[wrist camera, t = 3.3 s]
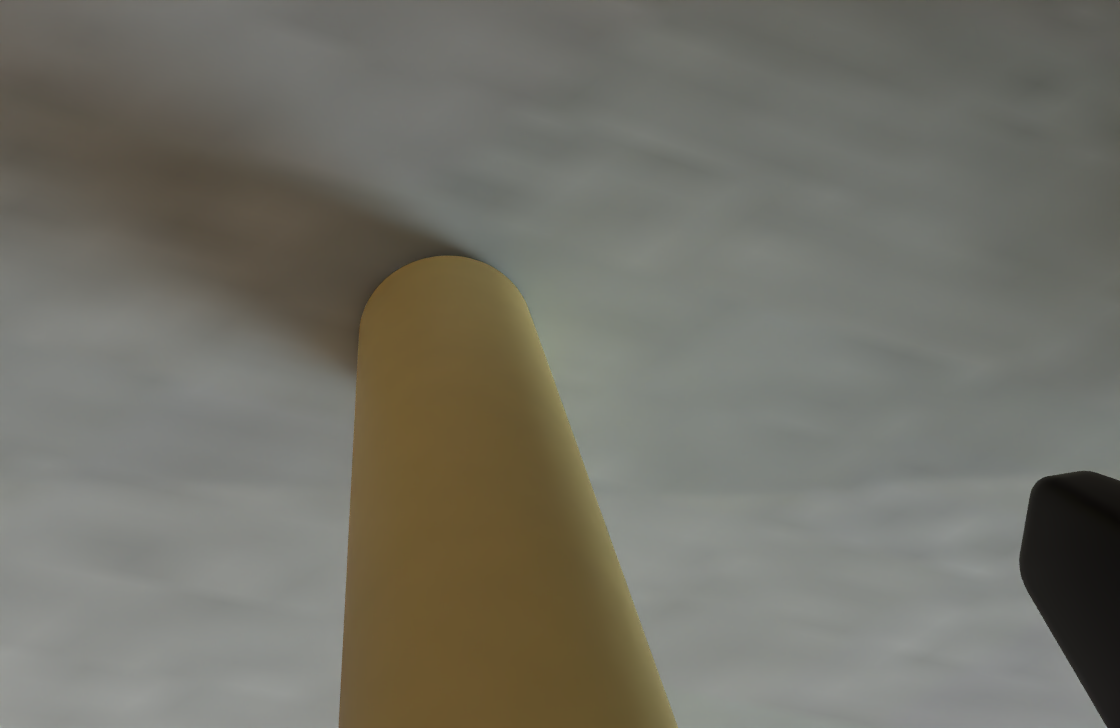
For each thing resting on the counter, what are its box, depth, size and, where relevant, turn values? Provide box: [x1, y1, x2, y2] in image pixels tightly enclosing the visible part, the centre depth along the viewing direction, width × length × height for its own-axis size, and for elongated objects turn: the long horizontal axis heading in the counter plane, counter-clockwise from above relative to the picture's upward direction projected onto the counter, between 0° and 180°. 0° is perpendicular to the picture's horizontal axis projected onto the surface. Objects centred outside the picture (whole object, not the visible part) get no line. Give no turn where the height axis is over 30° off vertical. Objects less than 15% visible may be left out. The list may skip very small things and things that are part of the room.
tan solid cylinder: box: [339, 256, 678, 728], centre depth 9 cm, size 2×2×8 cm
